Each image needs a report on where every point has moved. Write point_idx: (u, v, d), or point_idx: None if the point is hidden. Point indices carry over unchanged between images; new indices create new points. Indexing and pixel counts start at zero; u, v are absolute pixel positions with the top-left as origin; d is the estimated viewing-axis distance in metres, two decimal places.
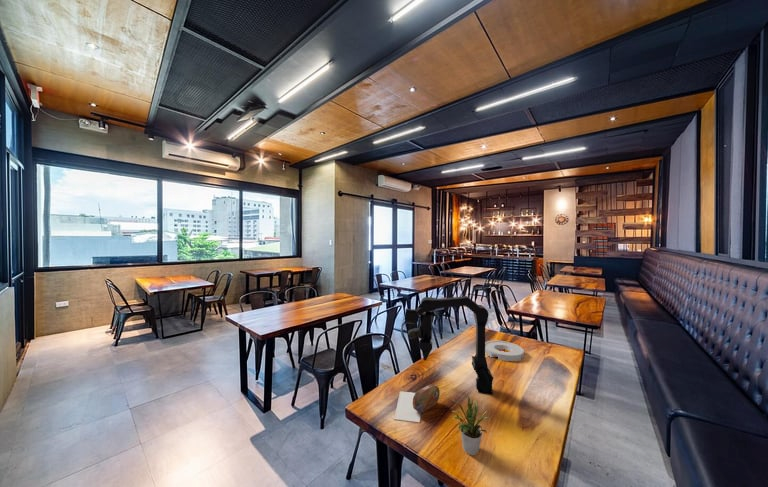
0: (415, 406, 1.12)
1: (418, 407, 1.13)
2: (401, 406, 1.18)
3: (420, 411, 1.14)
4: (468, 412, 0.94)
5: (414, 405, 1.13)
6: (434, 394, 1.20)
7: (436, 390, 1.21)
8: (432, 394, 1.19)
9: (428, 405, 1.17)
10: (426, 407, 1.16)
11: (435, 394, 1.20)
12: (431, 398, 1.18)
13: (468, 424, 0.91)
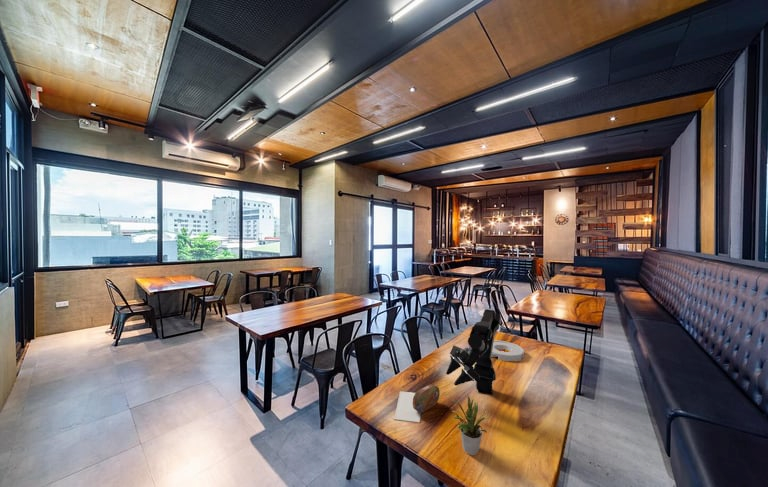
0: (415, 406, 1.12)
1: (418, 407, 1.13)
2: (401, 406, 1.18)
3: (420, 411, 1.14)
4: (468, 412, 0.94)
5: (414, 405, 1.13)
6: (434, 394, 1.20)
7: (436, 390, 1.21)
8: (432, 394, 1.19)
9: (428, 405, 1.17)
10: (426, 407, 1.16)
11: (435, 394, 1.20)
12: (431, 398, 1.18)
13: (468, 424, 0.91)
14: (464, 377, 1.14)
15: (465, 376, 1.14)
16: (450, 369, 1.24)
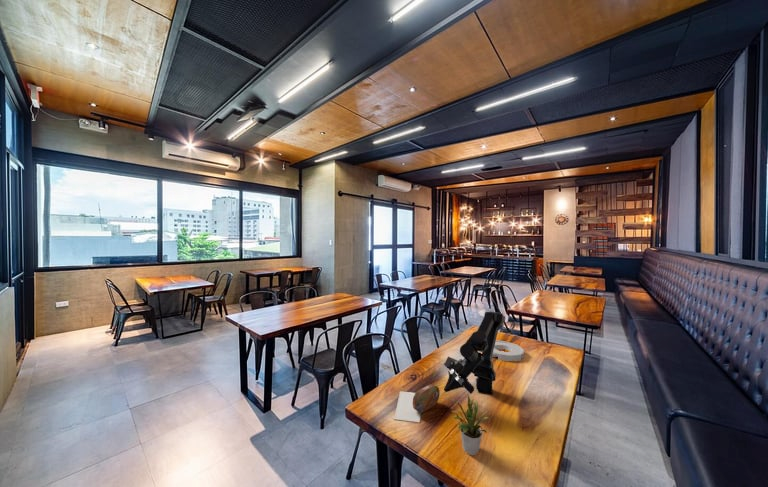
0: (415, 406, 1.12)
1: (418, 407, 1.13)
2: (401, 406, 1.18)
3: (420, 411, 1.14)
4: (468, 412, 0.94)
5: (414, 405, 1.13)
6: (434, 394, 1.20)
7: (436, 390, 1.21)
8: (432, 394, 1.19)
9: (428, 405, 1.17)
10: (426, 407, 1.16)
11: (435, 394, 1.20)
12: (431, 398, 1.18)
13: (468, 424, 0.91)
14: (454, 384, 1.18)
15: (455, 383, 1.18)
16: None
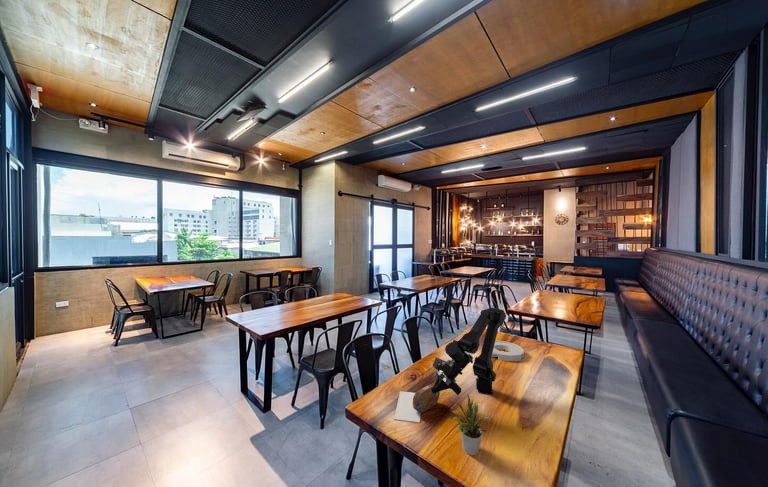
0: (415, 406, 1.12)
1: (418, 407, 1.13)
2: (401, 406, 1.18)
3: (420, 411, 1.14)
4: (468, 412, 0.94)
5: (414, 405, 1.13)
6: (434, 394, 1.20)
7: None
8: (432, 394, 1.19)
9: (428, 405, 1.17)
10: (426, 407, 1.16)
11: (435, 394, 1.20)
12: (431, 398, 1.18)
13: (468, 424, 0.91)
14: (442, 385, 1.17)
15: (443, 384, 1.17)
16: None
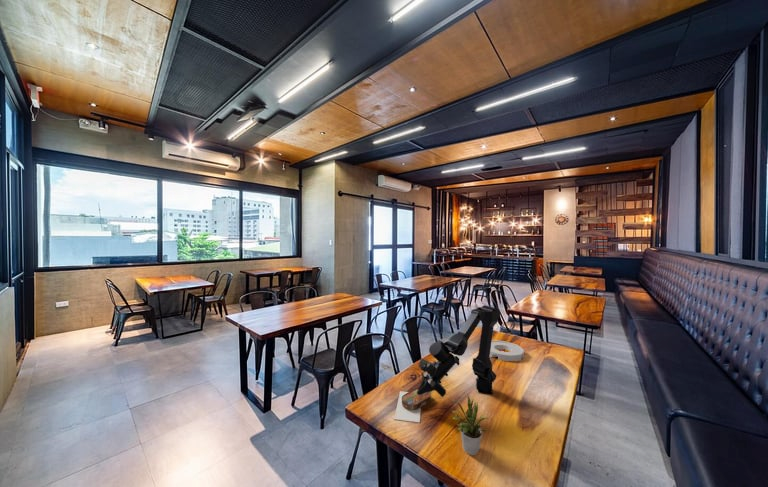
0: (405, 404, 1.16)
1: (409, 403, 1.17)
2: (401, 406, 1.18)
3: (414, 404, 1.16)
4: (468, 412, 0.94)
5: (405, 405, 1.16)
6: None
7: None
8: None
9: (422, 399, 1.20)
10: (421, 400, 1.19)
11: None
12: (420, 395, 1.23)
13: (468, 424, 0.91)
14: (427, 386, 1.16)
15: (428, 385, 1.16)
16: None
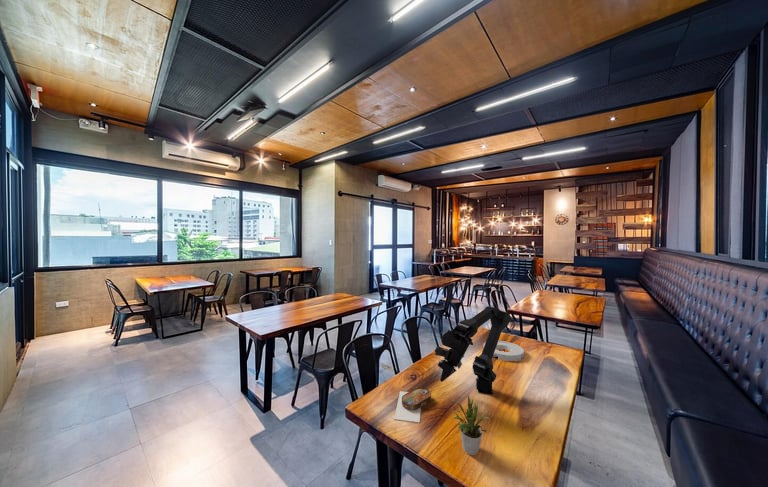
0: (405, 404, 1.16)
1: (409, 403, 1.17)
2: (401, 406, 1.18)
3: (414, 404, 1.16)
4: (468, 412, 0.94)
5: (405, 405, 1.16)
6: (422, 392, 1.25)
7: (422, 390, 1.27)
8: (419, 393, 1.24)
9: (422, 399, 1.20)
10: (421, 400, 1.19)
11: (423, 392, 1.25)
12: (420, 395, 1.23)
13: (468, 424, 0.91)
14: (446, 371, 1.21)
15: None
16: None
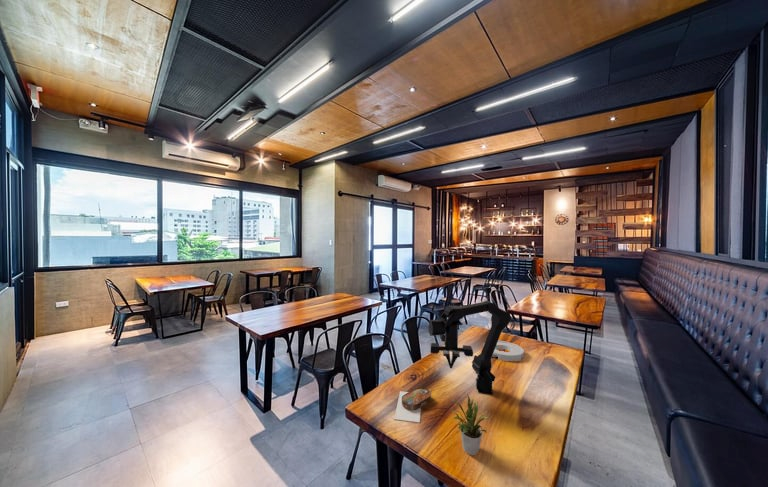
0: (405, 404, 1.16)
1: (409, 403, 1.17)
2: (401, 406, 1.18)
3: (414, 404, 1.16)
4: (468, 412, 0.94)
5: (405, 405, 1.16)
6: (422, 392, 1.25)
7: (422, 390, 1.27)
8: (419, 393, 1.24)
9: (422, 399, 1.20)
10: (421, 400, 1.19)
11: (423, 392, 1.25)
12: (420, 395, 1.23)
13: (468, 424, 0.91)
14: None
15: None
16: None
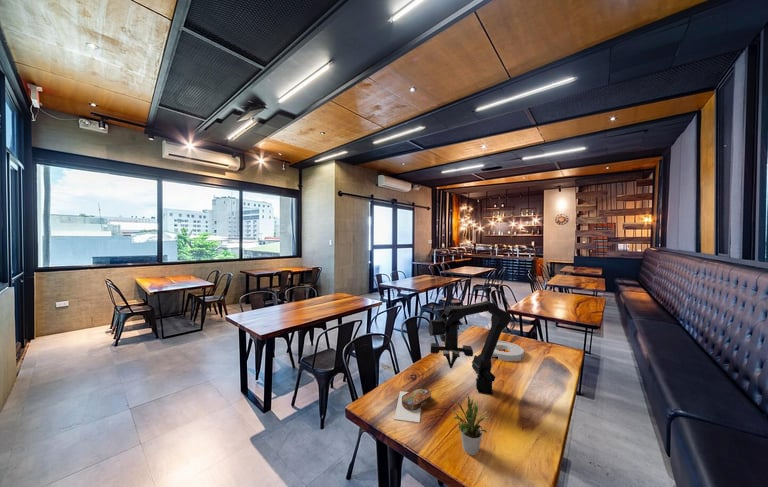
0: (405, 404, 1.16)
1: (409, 403, 1.17)
2: (401, 406, 1.18)
3: (414, 404, 1.16)
4: (468, 412, 0.94)
5: (405, 405, 1.16)
6: (422, 392, 1.25)
7: (422, 390, 1.27)
8: (419, 393, 1.24)
9: (422, 399, 1.20)
10: (421, 400, 1.19)
11: (423, 392, 1.25)
12: (420, 395, 1.23)
13: (468, 424, 0.91)
14: None
15: None
16: None
